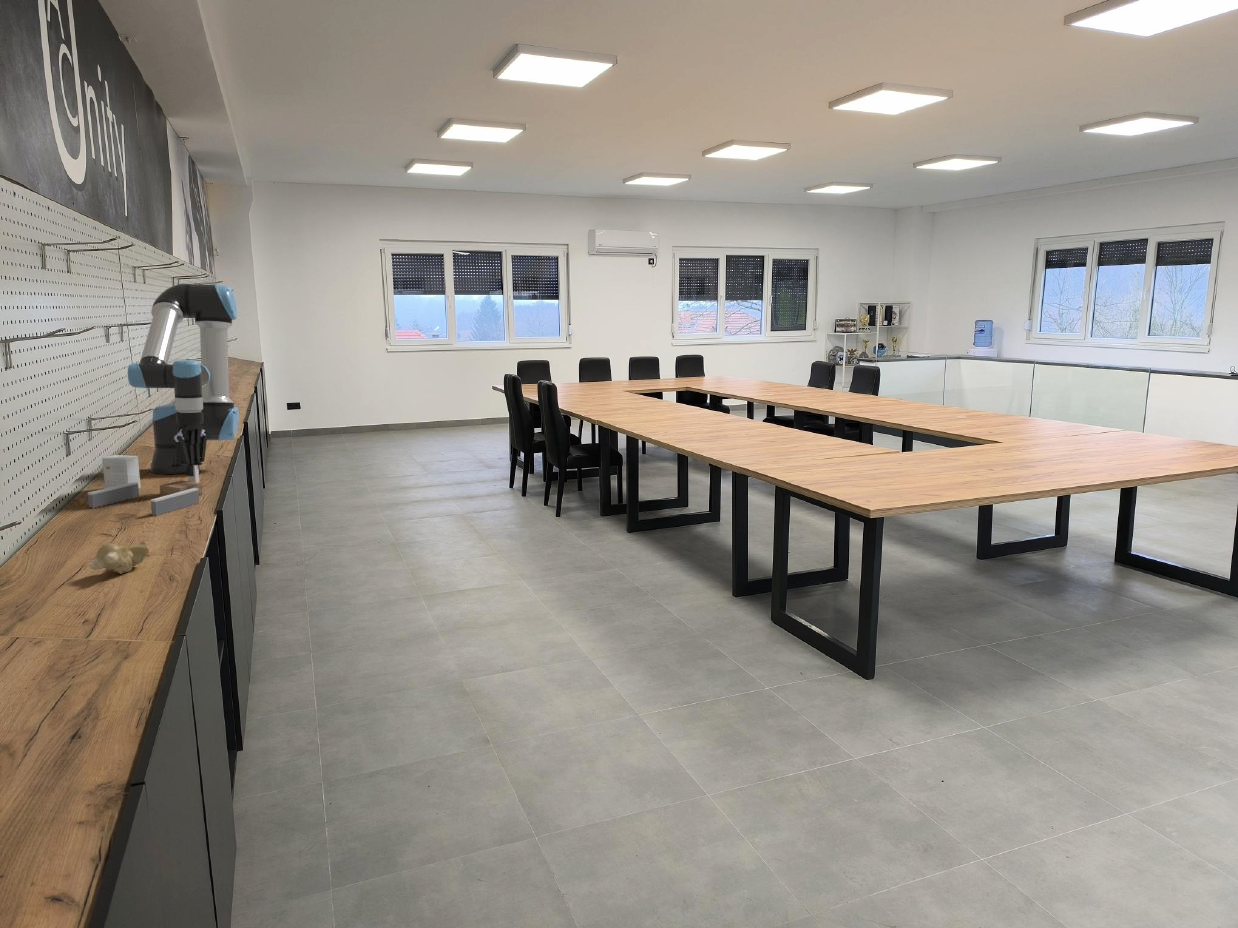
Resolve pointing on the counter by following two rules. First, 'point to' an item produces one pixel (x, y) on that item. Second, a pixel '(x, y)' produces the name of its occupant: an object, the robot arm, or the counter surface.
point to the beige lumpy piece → (119, 557)
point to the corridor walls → (132, 491)
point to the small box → (120, 470)
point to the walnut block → (179, 487)
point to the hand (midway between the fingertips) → (194, 485)
